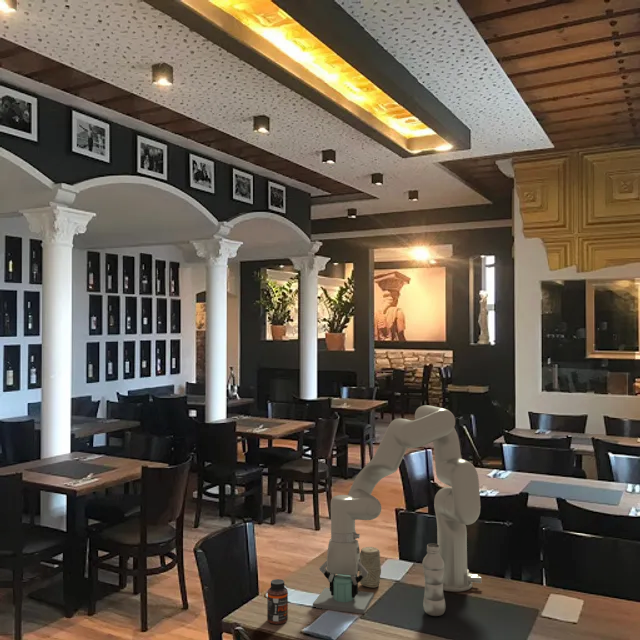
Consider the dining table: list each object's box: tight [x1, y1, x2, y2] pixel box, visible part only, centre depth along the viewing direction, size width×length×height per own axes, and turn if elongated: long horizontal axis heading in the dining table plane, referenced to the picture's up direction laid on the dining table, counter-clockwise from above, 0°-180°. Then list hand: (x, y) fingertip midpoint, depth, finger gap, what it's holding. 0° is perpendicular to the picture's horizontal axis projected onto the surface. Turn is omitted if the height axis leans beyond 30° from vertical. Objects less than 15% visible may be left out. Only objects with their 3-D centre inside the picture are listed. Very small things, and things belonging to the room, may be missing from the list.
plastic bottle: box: [421, 543, 447, 617], centre depth 188 cm, size 6×7×20 cm
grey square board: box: [312, 587, 375, 614], centre depth 197 cm, size 16×13×6 cm
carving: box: [358, 546, 382, 588], centre depth 210 cm, size 6×8×12 cm
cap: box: [333, 574, 354, 602], centre depth 198 cm, size 6×6×6 cm
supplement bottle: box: [266, 578, 289, 626], centre depth 185 cm, size 6×6×11 cm
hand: (343, 594), depth 197 cm, fingers closed on cap, 6 cm apart
